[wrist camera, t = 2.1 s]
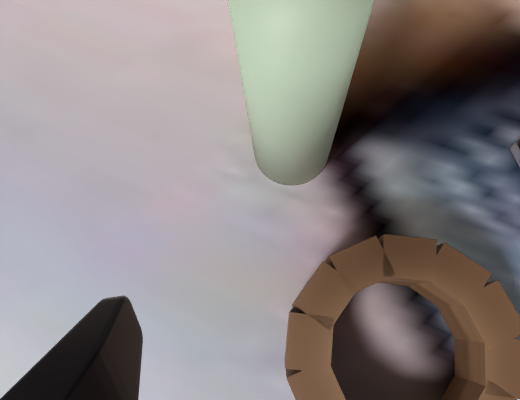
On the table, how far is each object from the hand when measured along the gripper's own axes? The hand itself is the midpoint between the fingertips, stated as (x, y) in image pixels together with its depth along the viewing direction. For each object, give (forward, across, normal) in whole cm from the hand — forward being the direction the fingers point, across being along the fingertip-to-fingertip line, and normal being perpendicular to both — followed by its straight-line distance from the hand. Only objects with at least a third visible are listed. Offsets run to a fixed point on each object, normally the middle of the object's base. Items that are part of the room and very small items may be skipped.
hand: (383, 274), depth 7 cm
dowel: (+15, 0, +4) cm, 16 cm away
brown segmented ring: (+8, -3, +11) cm, 14 cm away
